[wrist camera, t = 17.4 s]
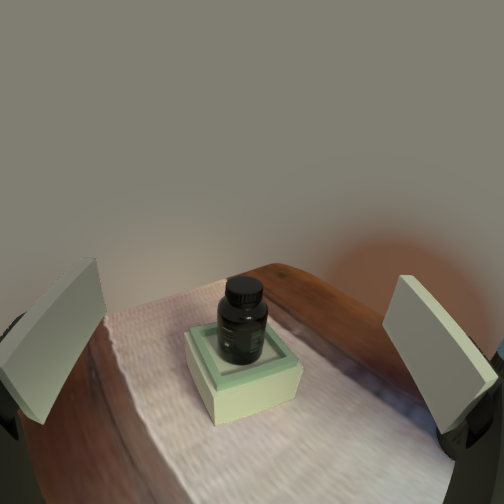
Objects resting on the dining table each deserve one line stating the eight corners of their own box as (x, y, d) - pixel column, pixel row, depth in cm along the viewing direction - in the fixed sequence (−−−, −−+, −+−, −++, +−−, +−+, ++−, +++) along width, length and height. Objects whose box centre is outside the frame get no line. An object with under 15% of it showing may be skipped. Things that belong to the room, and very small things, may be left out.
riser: (256, 347, 52) (260, 309, 48) (294, 398, 41) (305, 360, 37) (187, 364, 46) (183, 325, 42) (215, 426, 35) (213, 391, 31)
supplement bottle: (208, 348, 40) (206, 281, 35) (241, 331, 45) (245, 266, 40) (238, 374, 36) (243, 305, 31) (271, 352, 40) (282, 286, 35)
